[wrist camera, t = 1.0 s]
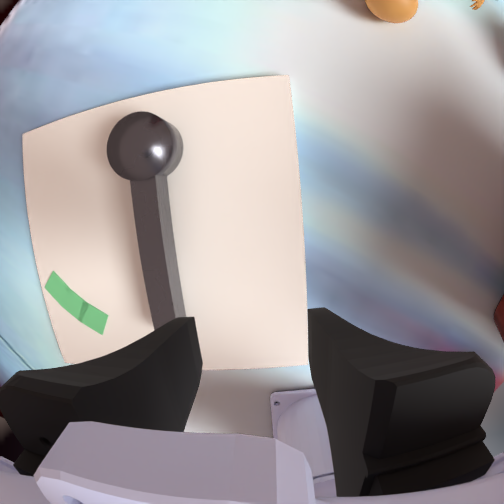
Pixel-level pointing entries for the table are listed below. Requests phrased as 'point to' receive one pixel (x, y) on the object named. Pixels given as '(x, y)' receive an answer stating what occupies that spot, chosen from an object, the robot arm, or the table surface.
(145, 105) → the dial board
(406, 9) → the figurine
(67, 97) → the table surface
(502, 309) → the plant pot
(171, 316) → the lever
